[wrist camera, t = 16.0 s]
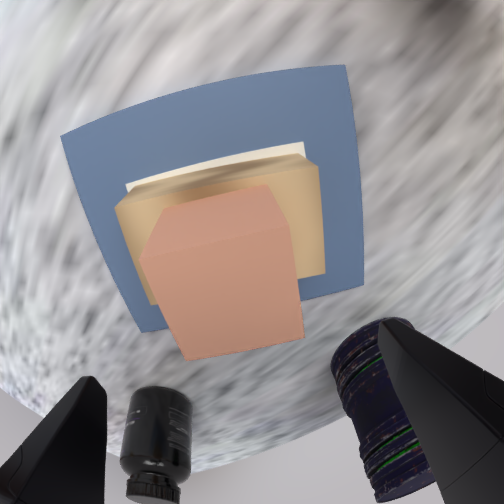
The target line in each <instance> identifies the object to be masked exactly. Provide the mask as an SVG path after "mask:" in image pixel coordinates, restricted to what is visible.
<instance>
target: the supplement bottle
mask: <svg viewBox="0 0 504 504" xmlns="http://www.w3.org/2000/svg"><path fill="white" fill-rule="evenodd" d="M191 443H192V405H191V403H190V402H189V400H188V399H187V398H186V397H185V396H183V395H182V394H180V393H178V392H176V391H174V390H171V389H168V388H163V387H145V388H141V389H139V390H137V391H136V392H135V393H134V394H133V395H132V397H131V400H130V405H129V409H128V414H127V420H126V425H125V430H124V436H123V442H122V448H121V454H120V465H121V467H122V469H123V470H124V472H125V473H127V474H128V475H129V476H130V479H128V480H127V491H126V497H127V498H128V499H130V500H132V501H134V502H137V503H141V504H179V500H180V494H181V489H180V488H179V487H178V484H181V483H183V482H185V481H186V480H187V479H188V478H189V476H190V473H191Z"/></svg>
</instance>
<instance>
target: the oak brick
mask: <svg viewBox="0 0 504 504" xmlns="http://www.w3.org/2000/svg"><path fill="white" fill-rule="evenodd" d="M264 184H267V185H268V187H269V189H270V191H271V192H272V194H273V196H274V198H275V200H276V202H277V204H278V205H279V207H280V209H281V211H282V213H283V215H284V217H285V218H286V220H287V222H288V224H289V228H290V234H291V241H292V247H293V254H294V260H295V267H296V274H297V279H301V278H306V277H311V276H315V275H320V274H325V252H324V233H323V218H322V204H321V192H320V181H319V170H318V166H317V165H315V164H314V163H312V162H311V161H309V160H308V159H306V158H305V157H303V156H302V155H300V154H299V153H294V154H287V155H281V156H274V157H268V158H262V159H256V160H250V161H245V162H239V163H234V164H228V165H223V166H218V167H213V168H208V169H204V170H199V171H194V172H190V173H185V174H181V175H176V176H172V177H168V178H164V179H160V180H156V181H152V182H148V183H144V184H140V185H136V186H134V187H133V188H132V189H131V190H130V192H129V193H128V194H127V195H126V196H125V197H124V198H123V199H122V200H121V201H120V202H119V203H118V204H117V205H116V206H115V207H114V209H115V212H116V215H117V218H118V221H119V224H120V227H121V230H122V232H123V235H124V238H125V241H126V244H127V246H128V249H129V252H130V255H131V257H132V260H133V263H134V265H135V268H136V270H137V273H138V275H139V278H140V280H141V283H142V285H143V288H144V290H145V293H146V295H147V297H148V300H149V302H150V305H156V304H158V303H157V301H156V299H155V297H154V294H153V292H152V290H151V288H150V285H149V283H148V281H147V279H146V276H145V274H144V272H143V269H142V267H141V264H140V262H139V258H140V256H141V253H142V251H143V249H144V247H145V245H146V243H147V241H148V239H149V237H150V235H151V233H152V231H153V229H154V227H155V225H156V223H157V221H158V219H159V217H160V215H161V213H162V211H163V209H164V208H167V207H171V206H175V205H179V204H183V203H187V202H191V201H195V200H199V199H203V198H207V197H211V196H215V195H219V194H224V193H228V192H232V191H237V190H241V189H246V188H250V187H255V186H259V185H264Z"/></svg>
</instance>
